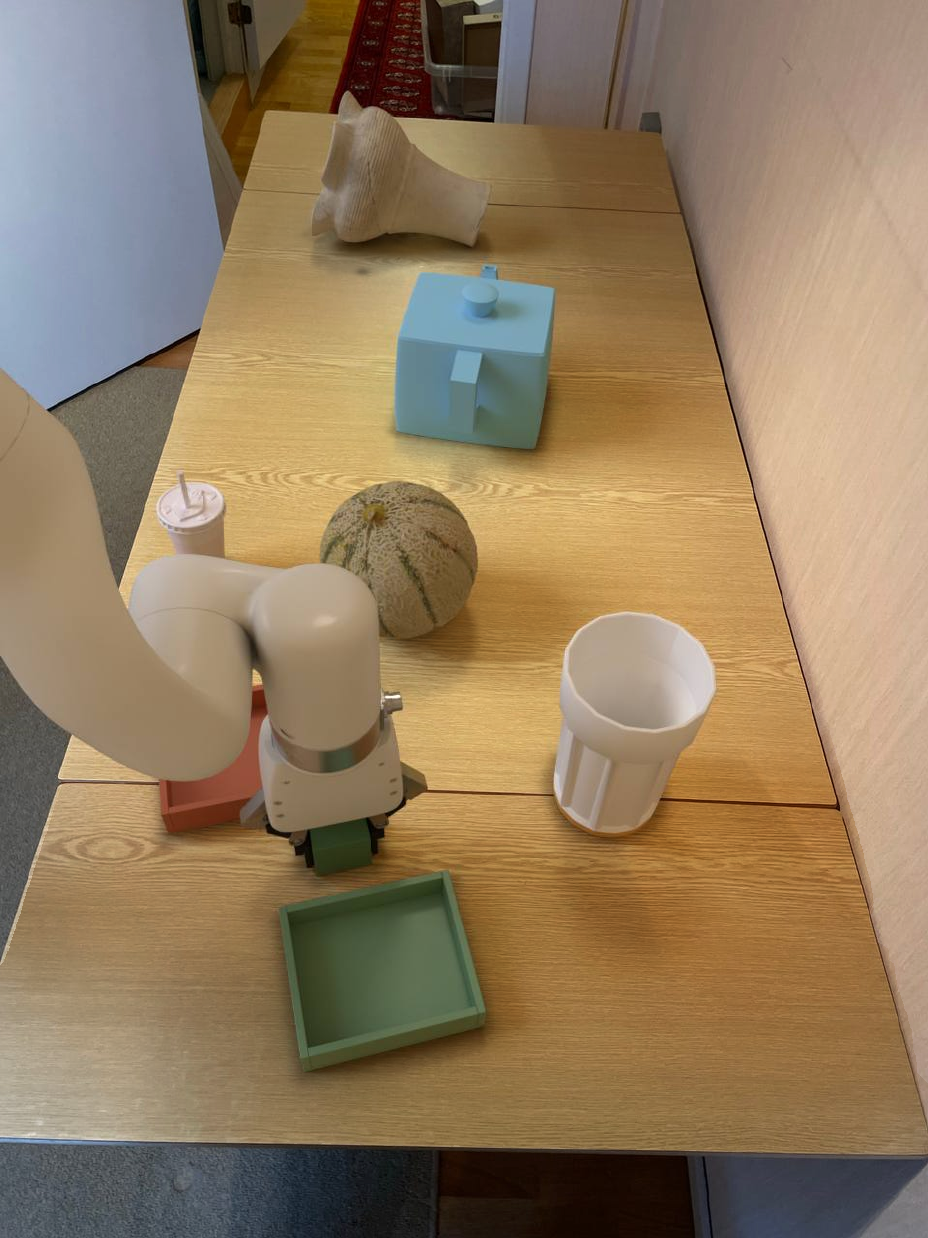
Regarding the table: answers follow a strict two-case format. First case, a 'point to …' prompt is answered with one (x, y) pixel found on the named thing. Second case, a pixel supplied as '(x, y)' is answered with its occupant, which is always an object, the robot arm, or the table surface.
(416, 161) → the vase
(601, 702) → the cup
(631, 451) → the table surface
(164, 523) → the smoothie
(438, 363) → the container
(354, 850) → the green block
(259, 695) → the terracotta tray
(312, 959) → the green tray
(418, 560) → the cantaloupe
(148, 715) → the robot arm
